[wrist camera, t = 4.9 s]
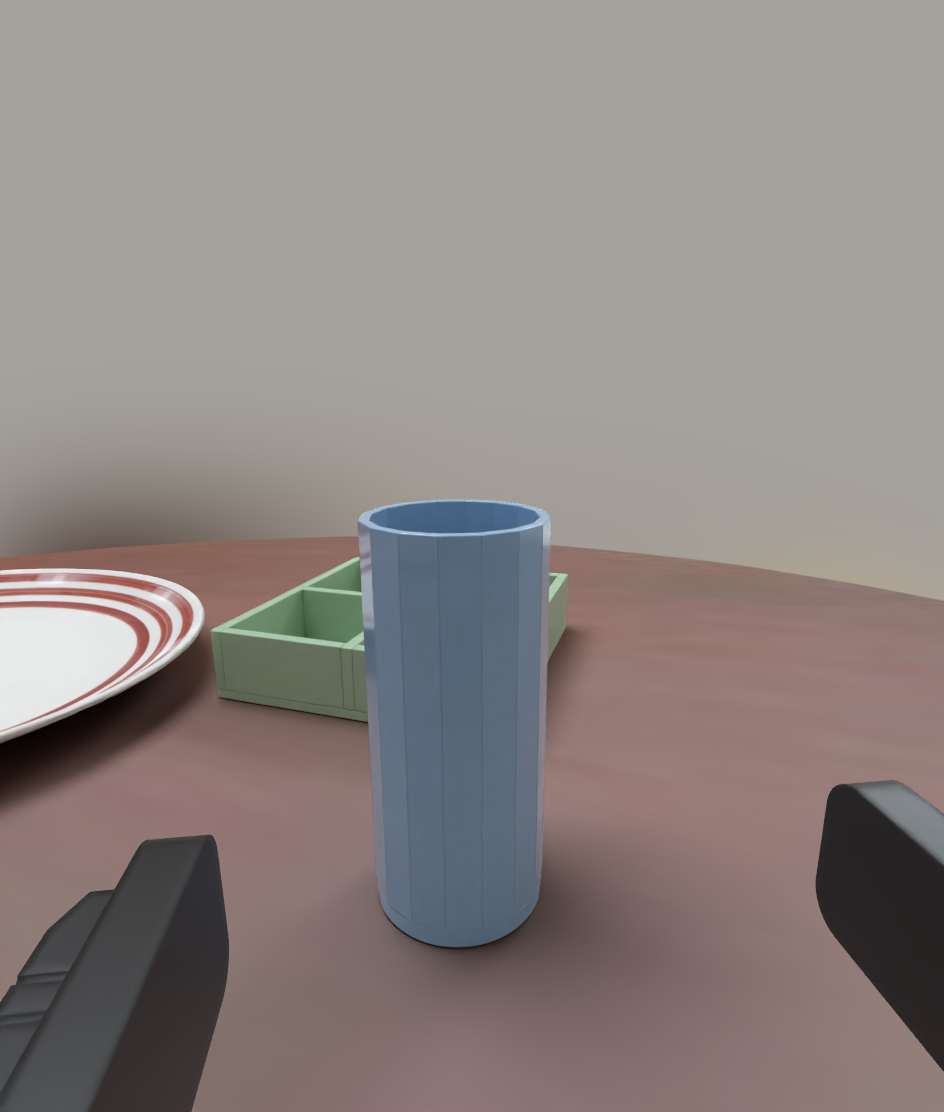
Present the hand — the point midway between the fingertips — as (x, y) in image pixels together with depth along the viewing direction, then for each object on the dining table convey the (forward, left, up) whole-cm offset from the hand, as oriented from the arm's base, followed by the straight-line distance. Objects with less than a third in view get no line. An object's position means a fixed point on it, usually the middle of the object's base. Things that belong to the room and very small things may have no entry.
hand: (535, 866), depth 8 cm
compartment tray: (-13, +26, -9) cm, 30 cm away
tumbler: (-4, +9, -9) cm, 14 cm away
